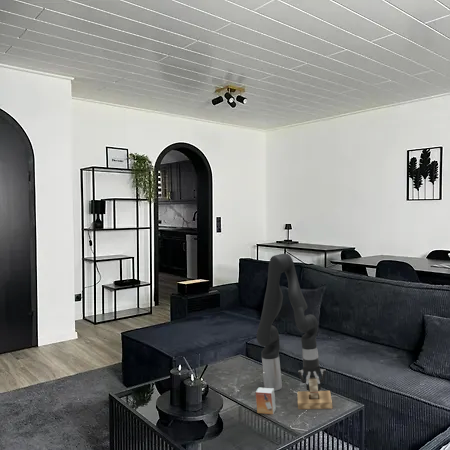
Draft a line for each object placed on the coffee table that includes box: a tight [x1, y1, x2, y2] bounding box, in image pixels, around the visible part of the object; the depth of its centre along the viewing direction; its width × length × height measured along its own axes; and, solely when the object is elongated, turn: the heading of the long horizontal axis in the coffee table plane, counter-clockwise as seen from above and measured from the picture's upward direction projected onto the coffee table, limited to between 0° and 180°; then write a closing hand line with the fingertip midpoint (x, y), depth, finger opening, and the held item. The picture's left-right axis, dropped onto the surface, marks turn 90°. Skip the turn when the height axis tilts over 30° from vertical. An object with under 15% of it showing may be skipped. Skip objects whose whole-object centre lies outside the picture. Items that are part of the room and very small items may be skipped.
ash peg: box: [309, 377, 318, 399], centre depth 209 cm, size 4×4×10 cm
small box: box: [255, 386, 277, 415], centre depth 207 cm, size 8×6×10 cm
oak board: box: [297, 390, 333, 410], centre depth 210 cm, size 16×12×3 cm
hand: (313, 390), depth 210 cm, fingers closed on ash peg, 4 cm apart
